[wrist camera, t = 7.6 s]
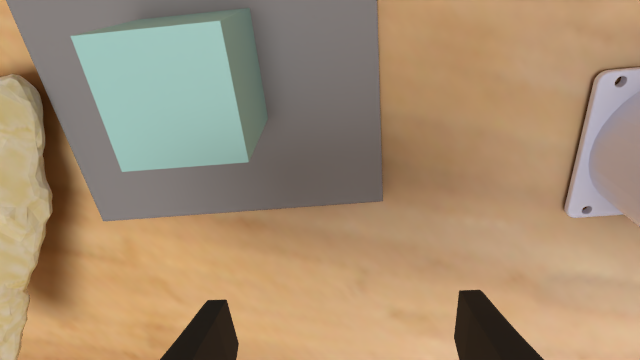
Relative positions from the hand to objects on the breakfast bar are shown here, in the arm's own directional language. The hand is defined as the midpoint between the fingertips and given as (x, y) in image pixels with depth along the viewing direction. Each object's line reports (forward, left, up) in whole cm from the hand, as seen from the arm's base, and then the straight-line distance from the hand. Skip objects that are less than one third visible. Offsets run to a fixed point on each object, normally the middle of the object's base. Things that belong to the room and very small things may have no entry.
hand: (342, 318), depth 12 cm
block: (+6, -6, -10) cm, 13 cm away
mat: (+6, -6, -10) cm, 13 cm away
